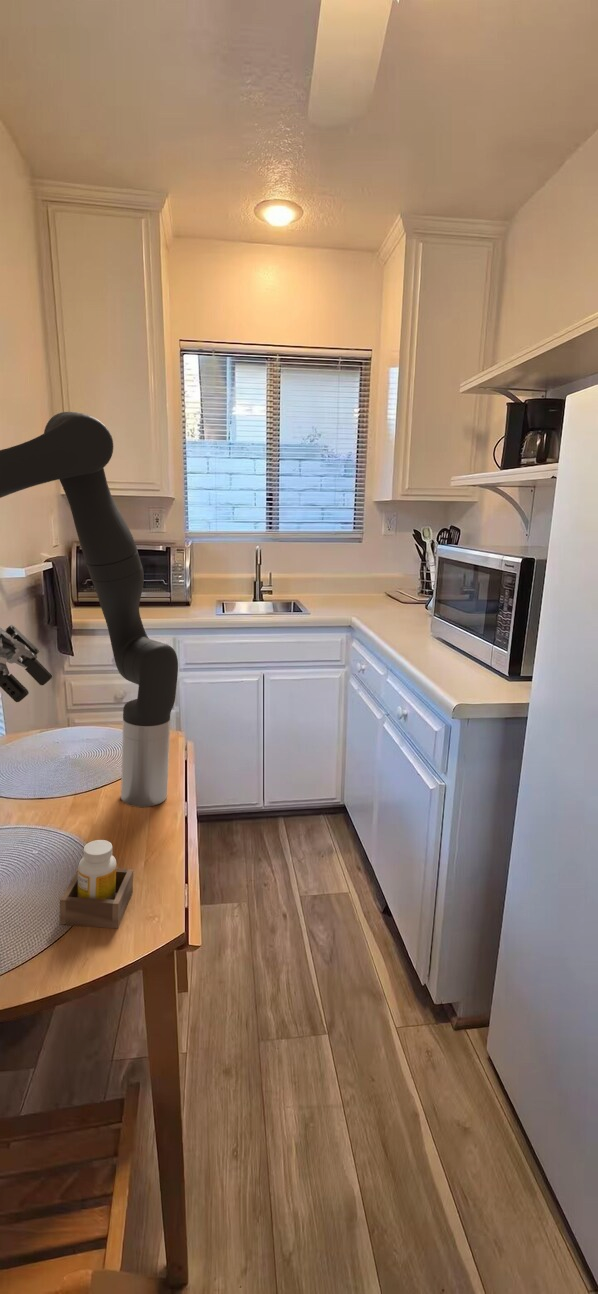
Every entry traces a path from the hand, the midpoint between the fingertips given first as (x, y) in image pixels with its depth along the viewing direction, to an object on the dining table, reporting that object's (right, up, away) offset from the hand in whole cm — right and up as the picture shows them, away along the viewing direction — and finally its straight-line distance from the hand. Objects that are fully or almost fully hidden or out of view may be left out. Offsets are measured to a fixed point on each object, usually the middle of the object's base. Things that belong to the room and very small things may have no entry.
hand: (36, 689), depth 89 cm
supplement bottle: (+9, -32, -1) cm, 34 cm away
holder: (+9, -33, -1) cm, 34 cm away
